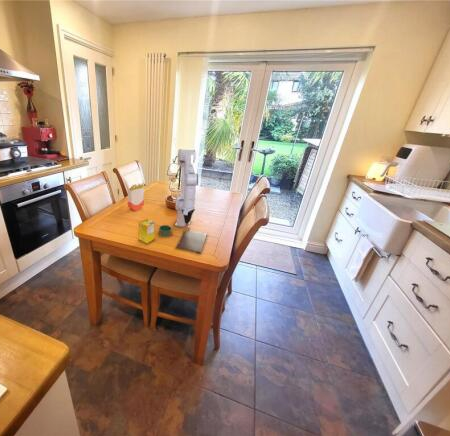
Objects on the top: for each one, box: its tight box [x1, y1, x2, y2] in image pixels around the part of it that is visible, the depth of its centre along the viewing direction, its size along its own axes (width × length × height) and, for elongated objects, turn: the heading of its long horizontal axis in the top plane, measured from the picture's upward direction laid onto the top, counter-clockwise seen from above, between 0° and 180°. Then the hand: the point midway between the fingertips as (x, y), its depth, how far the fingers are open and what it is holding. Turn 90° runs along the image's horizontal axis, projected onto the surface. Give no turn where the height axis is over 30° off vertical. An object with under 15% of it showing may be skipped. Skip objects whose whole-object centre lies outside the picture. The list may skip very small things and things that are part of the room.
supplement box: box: [138, 218, 156, 245], centre depth 121 cm, size 6×6×11 cm
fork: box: [182, 223, 191, 233], centre depth 121 cm, size 2×3×9 cm
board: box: [176, 230, 208, 255], centre depth 124 cm, size 20×12×1 cm, turn 162°
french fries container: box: [127, 183, 145, 211], centre depth 158 cm, size 5×11×18 cm, turn 137°
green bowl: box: [158, 224, 173, 238], centre depth 129 cm, size 7×7×4 cm
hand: (187, 222), depth 121 cm, fingers closed on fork, 1 cm apart
